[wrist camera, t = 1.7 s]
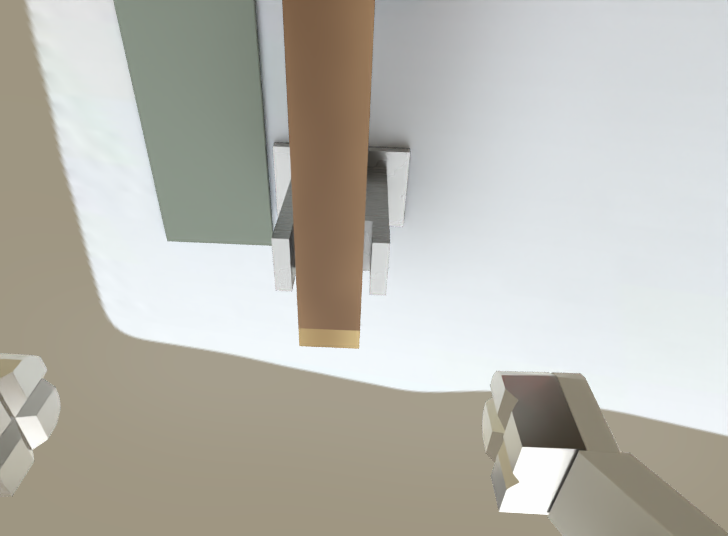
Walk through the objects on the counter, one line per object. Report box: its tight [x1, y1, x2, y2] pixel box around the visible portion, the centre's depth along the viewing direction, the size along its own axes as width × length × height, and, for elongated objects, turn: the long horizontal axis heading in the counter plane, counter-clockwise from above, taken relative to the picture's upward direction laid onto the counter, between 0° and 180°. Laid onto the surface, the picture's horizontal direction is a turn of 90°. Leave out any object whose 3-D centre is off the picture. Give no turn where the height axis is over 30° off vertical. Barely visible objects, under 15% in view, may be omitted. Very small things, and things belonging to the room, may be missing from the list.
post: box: [271, 143, 410, 295], centre depth 27 cm, size 8×5×9 cm, turn 88°
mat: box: [114, 0, 273, 246], centre depth 27 cm, size 7×22×1 cm, turn 178°
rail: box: [282, 0, 375, 349], centre depth 20 cm, size 3×21×3 cm, turn 178°
